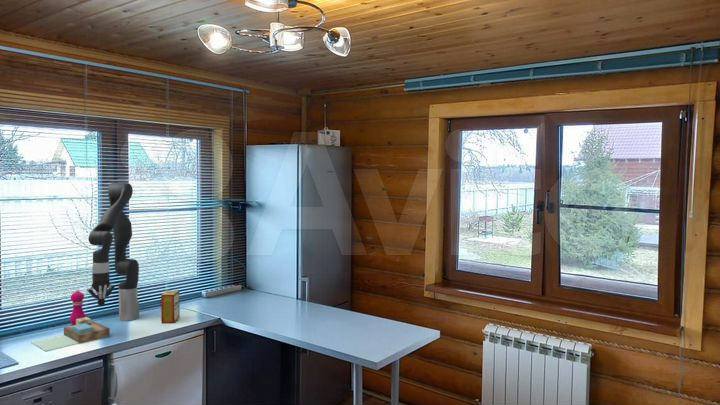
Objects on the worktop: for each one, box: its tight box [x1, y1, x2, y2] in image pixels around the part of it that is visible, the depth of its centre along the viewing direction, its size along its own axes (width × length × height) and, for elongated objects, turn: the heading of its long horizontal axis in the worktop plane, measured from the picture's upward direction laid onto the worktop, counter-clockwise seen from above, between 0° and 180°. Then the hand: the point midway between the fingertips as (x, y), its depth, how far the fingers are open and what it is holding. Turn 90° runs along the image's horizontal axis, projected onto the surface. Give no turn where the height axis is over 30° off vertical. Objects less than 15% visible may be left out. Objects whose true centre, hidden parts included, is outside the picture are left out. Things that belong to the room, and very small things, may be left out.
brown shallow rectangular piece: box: [63, 320, 111, 344], centre depth 241 cm, size 14×18×4 cm
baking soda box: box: [160, 290, 181, 325], centre depth 267 cm, size 10×6×16 cm
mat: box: [31, 334, 80, 352], centre depth 230 cm, size 14×18×1 cm
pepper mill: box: [69, 288, 87, 326], centre depth 254 cm, size 7×7×20 cm
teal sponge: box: [72, 323, 93, 334], centre depth 237 cm, size 6×9×2 cm, turn 51°
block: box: [76, 316, 92, 325], centre depth 246 cm, size 5×5×3 cm
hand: (101, 305), depth 243 cm, fingers closed
